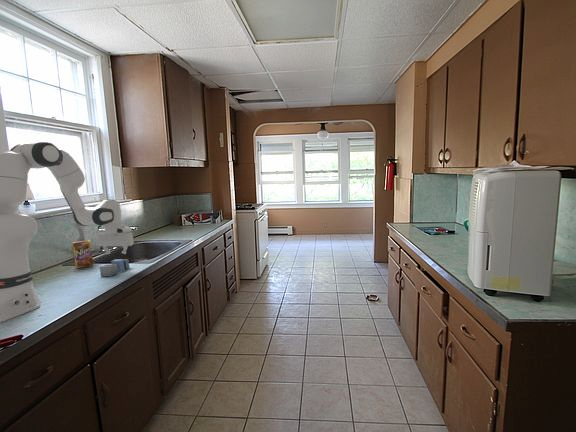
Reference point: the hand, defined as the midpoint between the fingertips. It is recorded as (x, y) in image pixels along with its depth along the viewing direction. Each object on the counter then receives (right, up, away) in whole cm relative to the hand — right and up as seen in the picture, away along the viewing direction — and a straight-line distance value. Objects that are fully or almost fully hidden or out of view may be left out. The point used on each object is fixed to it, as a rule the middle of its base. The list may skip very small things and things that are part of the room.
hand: (116, 253), depth 175 cm
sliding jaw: (-1, -11, -6) cm, 12 cm away
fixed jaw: (+1, -9, +5) cm, 11 cm away
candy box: (-25, -9, +13) cm, 30 cm away
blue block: (0, -10, +2) cm, 10 cm away
